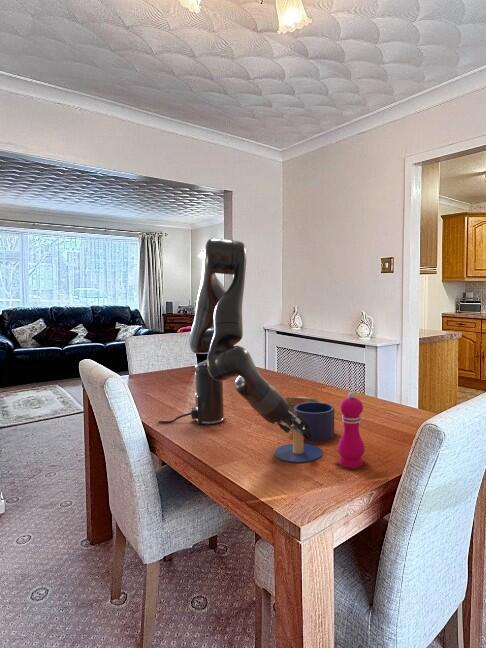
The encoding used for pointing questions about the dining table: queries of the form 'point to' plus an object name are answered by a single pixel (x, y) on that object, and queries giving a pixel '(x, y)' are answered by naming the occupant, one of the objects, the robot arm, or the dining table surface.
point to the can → (317, 419)
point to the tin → (297, 402)
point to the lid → (298, 451)
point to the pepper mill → (351, 433)
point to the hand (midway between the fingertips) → (299, 433)
